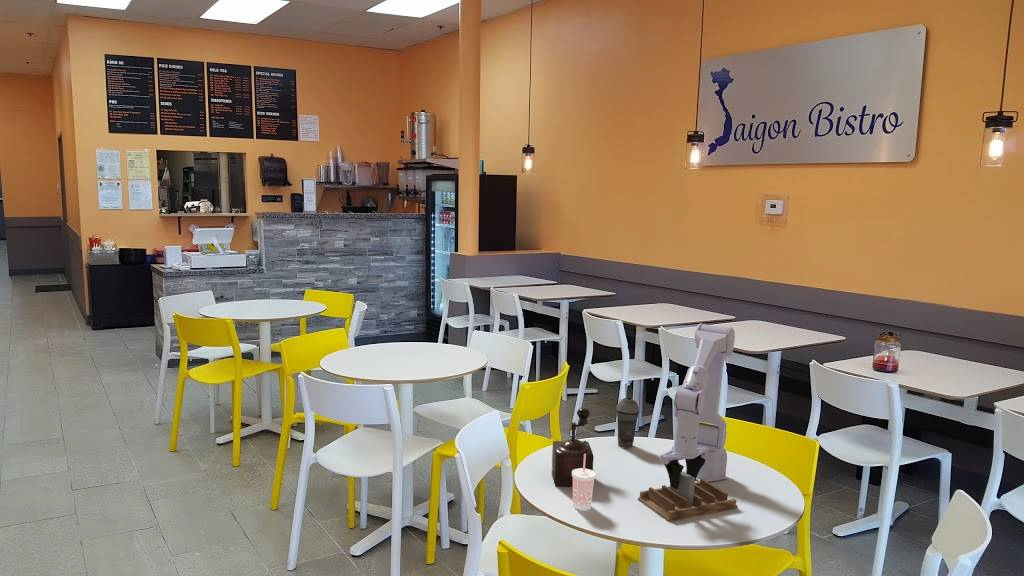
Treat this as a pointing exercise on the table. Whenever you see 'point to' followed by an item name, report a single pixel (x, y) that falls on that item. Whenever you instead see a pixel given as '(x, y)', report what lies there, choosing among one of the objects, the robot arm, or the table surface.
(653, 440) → the table surface
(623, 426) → the beverage cup
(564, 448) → the coffee grinder
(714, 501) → the dish rack
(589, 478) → the beverage cup
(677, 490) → the grey upright slab
